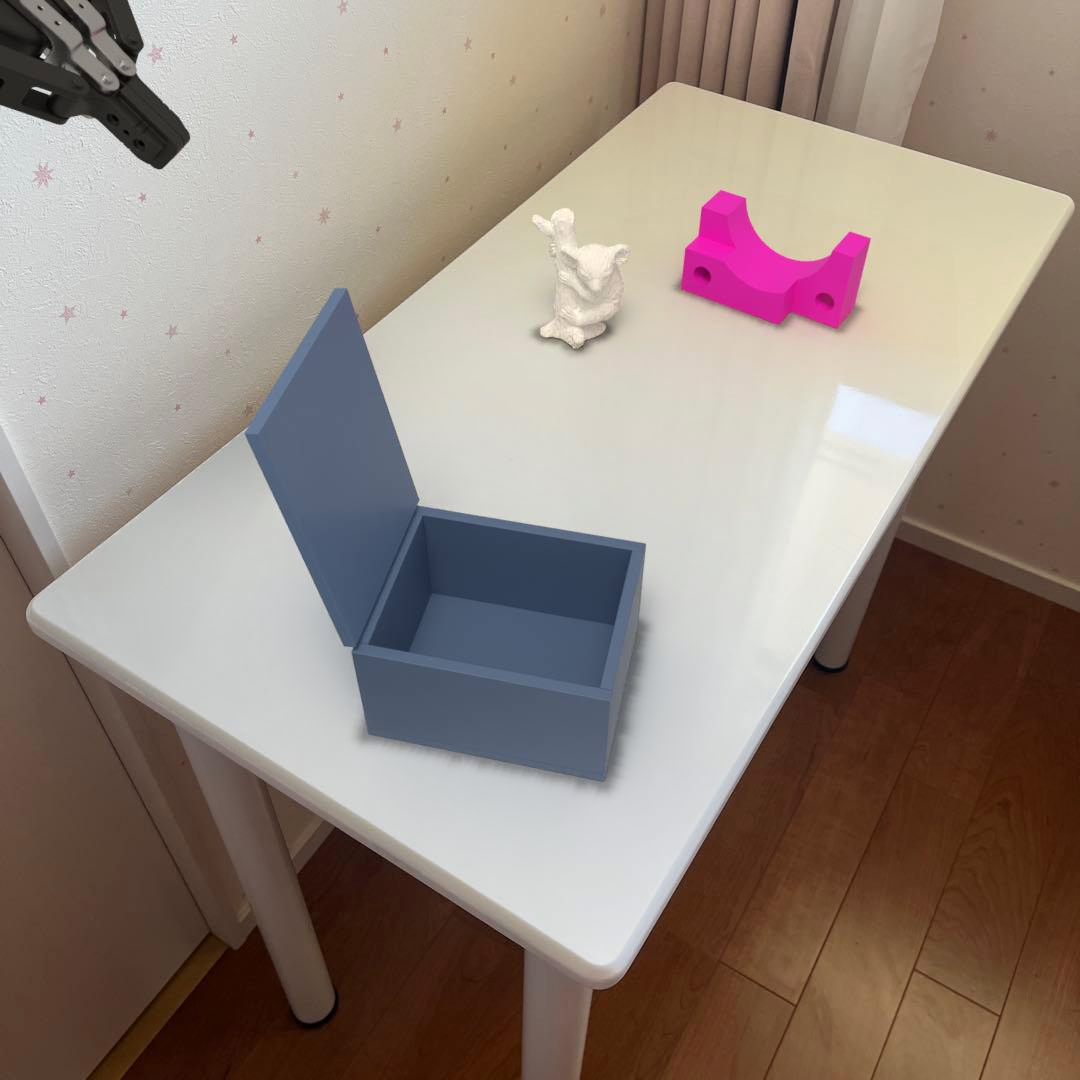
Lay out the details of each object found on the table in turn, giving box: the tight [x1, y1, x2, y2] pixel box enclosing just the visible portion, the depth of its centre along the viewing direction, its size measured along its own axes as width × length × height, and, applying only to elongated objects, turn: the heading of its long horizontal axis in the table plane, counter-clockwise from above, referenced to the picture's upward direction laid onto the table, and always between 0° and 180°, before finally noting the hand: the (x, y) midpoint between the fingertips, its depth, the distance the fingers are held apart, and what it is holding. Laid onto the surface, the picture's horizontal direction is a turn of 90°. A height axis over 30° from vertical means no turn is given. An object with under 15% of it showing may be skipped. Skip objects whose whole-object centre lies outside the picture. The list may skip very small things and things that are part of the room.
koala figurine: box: [531, 207, 631, 350], centre depth 97 cm, size 8×7×12 cm
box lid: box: [244, 287, 420, 648], centre depth 63 cm, size 16×13×1 cm
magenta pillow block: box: [680, 189, 872, 329], centre depth 102 cm, size 15×6×8 cm, turn 56°
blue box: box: [350, 504, 647, 782], centre depth 71 cm, size 16×13×9 cm
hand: (175, 154), depth 56 cm, fingers closed
